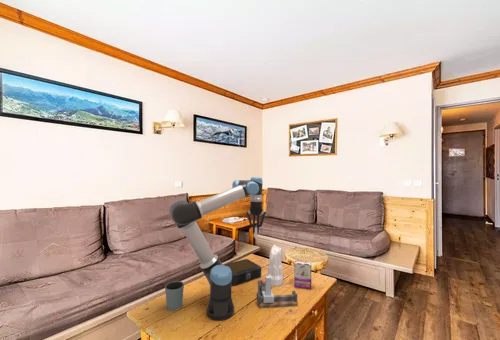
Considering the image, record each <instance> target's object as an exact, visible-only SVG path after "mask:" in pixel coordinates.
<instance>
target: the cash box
mask: <svg viewBox="0 0 500 340" xmlns="http://www.w3.org/2000/svg"><path fill="white" fill-rule="evenodd" d="M223 265H225V266H228V267H229V268H230V269H231V271H232V287H234V286H239V285H241V284H244V283H247V282H250V281H253V280H256V279H260V278H262V266H261V265H259V264H257V263H255V262H254V261H252V260H249V259H248V258H245V259H239V260H236V261H232V262H228V263H225V264H223Z"/></svg>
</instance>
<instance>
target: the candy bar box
mask: <svg viewBox="0 0 500 340" xmlns="http://www.w3.org/2000/svg"><path fill="white" fill-rule="evenodd" d="M293 265H294V268H293V270H294V277H293V280H294V281H293V282H294V283H293V286H294V288H296V289H305V290H311V289H312V261H302V260H301V261H300V260H294V264H293Z"/></svg>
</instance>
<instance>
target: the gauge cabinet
mask: <svg viewBox="0 0 500 340" xmlns="http://www.w3.org/2000/svg"><path fill="white" fill-rule="evenodd" d="M262 291H265V284H262V279H261V280H259V279H258V280H257V293H258V292H260V295H261V296H262Z"/></svg>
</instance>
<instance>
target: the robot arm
mask: <svg viewBox="0 0 500 340" xmlns="http://www.w3.org/2000/svg"><path fill="white" fill-rule="evenodd" d="M248 196H250V198H249V199H250V202H249V203H250V208H249V210H248V211H246V212H245V213H246V216H247V218H248V223H249V226H250V227H251V228H252V233H254V234H253V235H254V236H253V237H254V239H258V233H260V228H261V227H262V226H263V223H264V219H265V216H266V214H267V212H266V211H264V210H263V177H261V176H252V177H250V179H247V180H243V179H241V180H239V179H237V180H233V182H232V187H231V188H229V189H226V190H223V191H222V192H219V193H217V194H214V195H212V196H209V197H207V198H203V199H202V200H200V201H199V200H198V201H197V200H195V201H192V202H188V201H186V200H183V199H182V200H181V199H180V200H176V201H175V202H173V203H172V204H171V206H170V208H169V215H170V217H171V218H172V219H171V220H172V221H173V222H174V224H175V225H176V227H177V229H179V230H182V231H183V234H184V235H185V237H186V239H187V241H188V242H189V244H190V246H191V248H192V249H193V252H194V253H195V254H196V257H197V258H198V260H199V262H200V266H199V267H200V269H201V271H202V273H203V275H204V276H205V278H206V280H207V282H208V284H209V299H208V300H209V301H208V303H207V305H206V306H207V307H206V315H207V318H209V319H211V320H214V321H224V320H225V321H226V320H228V319H230V318H232V317H233V315H234V314H235V304H234V300H233V298H232V291H233V290H232V287H233V286H232V271H231V269H230V268H229V267H228V266H225V265H224V264H223V263H222V262H221V260H220V257H219V256H218V255H217V254H214V252H213V251H212V248H211V247H210V245H209V243H208V241H207V239H206V238H205V236H204V233H203V231H202V230H201V228H200V226H199V224H198V223H197V221H199V220H201V219H202V218H203V217H204V216H205V215H207V214H209V213H212V212H214V211H216V210H219V209H221V208H223V207H225V206H228V205H230V204H232V203H235V202H237V201H239V200H242V199H244V198H246V197H248ZM251 215H252V217H251ZM260 215H261V217H260ZM251 218H252V219H251Z"/></svg>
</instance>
